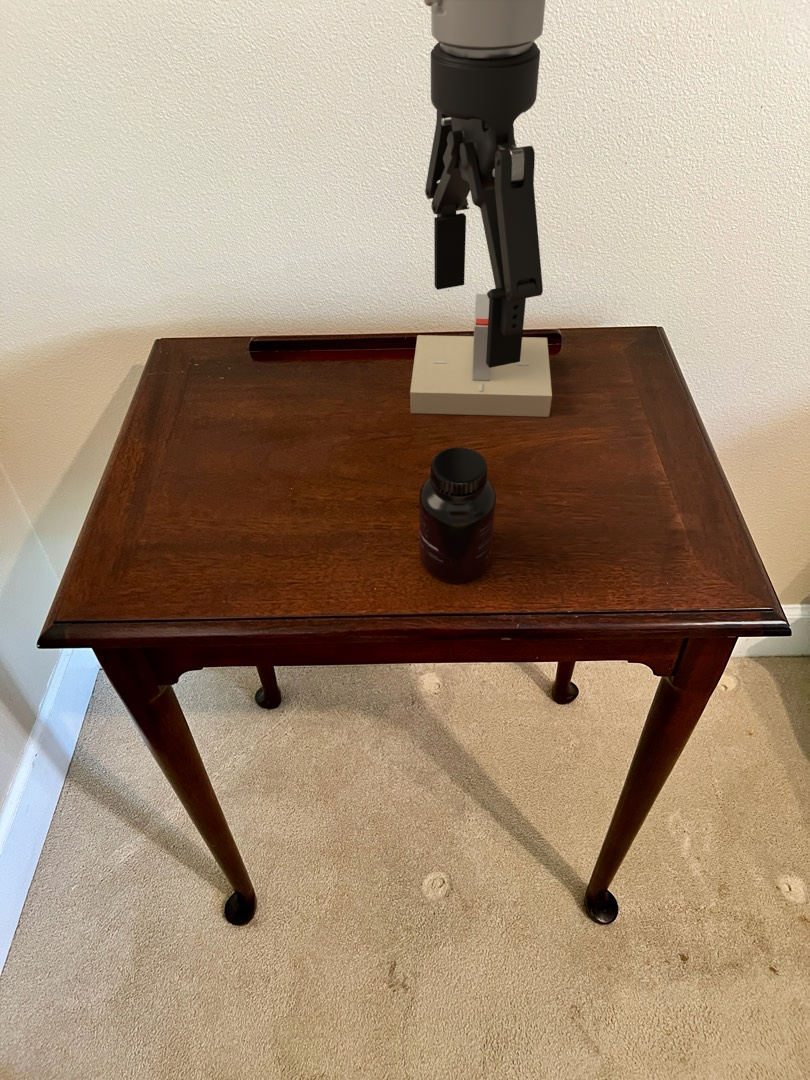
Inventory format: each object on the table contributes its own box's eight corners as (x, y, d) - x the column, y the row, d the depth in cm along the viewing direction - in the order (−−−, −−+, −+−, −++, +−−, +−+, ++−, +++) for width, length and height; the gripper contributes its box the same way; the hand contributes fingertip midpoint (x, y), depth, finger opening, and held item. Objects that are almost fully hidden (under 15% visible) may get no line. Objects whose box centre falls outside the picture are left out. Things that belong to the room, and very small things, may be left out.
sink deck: (544, 358, 96) (547, 336, 93) (549, 417, 87) (552, 394, 85) (417, 355, 97) (417, 333, 95) (410, 413, 89) (410, 390, 86)
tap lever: (473, 346, 92) (475, 291, 87) (490, 347, 92) (493, 292, 87) (471, 380, 88) (474, 324, 82) (489, 380, 87) (492, 324, 82)
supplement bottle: (408, 574, 72) (405, 479, 63) (434, 525, 76) (434, 430, 67) (478, 594, 70) (484, 499, 61) (500, 543, 74) (509, 448, 65)
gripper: (383, 7, 60) (394, 265, 75) (501, 105, 43) (484, 410, 58) (474, -3, 61) (466, 253, 76) (622, 89, 44) (574, 392, 60)
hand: (474, 321), depth 67 cm, fingers open, 13 cm apart
